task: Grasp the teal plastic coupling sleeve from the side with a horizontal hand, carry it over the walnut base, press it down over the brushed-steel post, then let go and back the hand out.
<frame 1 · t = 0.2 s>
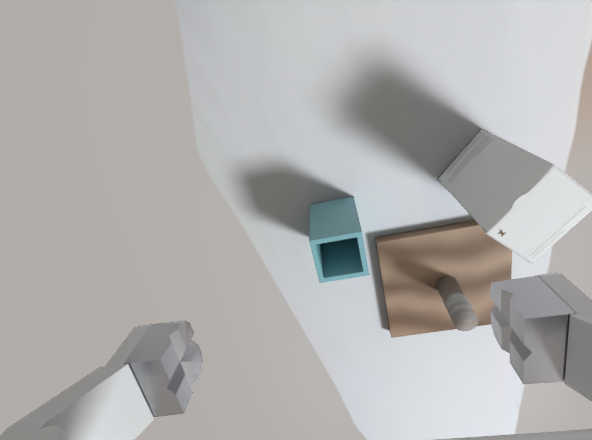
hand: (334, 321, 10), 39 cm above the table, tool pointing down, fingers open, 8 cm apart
skincare box: (475, 164, 48), on the table
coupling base: (443, 278, 56), on the table
coupling sleeve: (335, 219, 52), on the table
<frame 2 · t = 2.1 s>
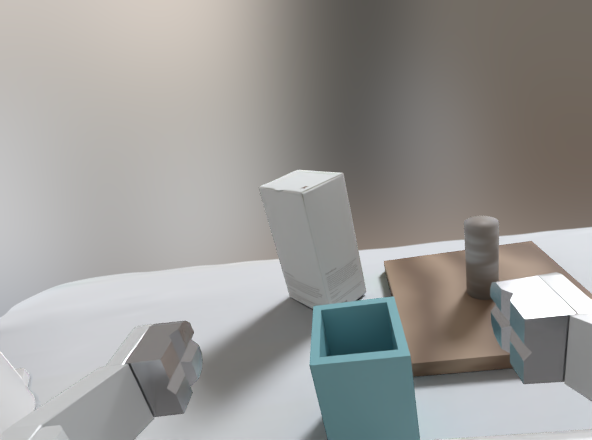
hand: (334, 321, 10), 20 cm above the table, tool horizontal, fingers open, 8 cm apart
skincare box: (325, 297, 47), on the table
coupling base: (482, 303, 39), on the table
coupling sleeve: (374, 431, 29), on the table
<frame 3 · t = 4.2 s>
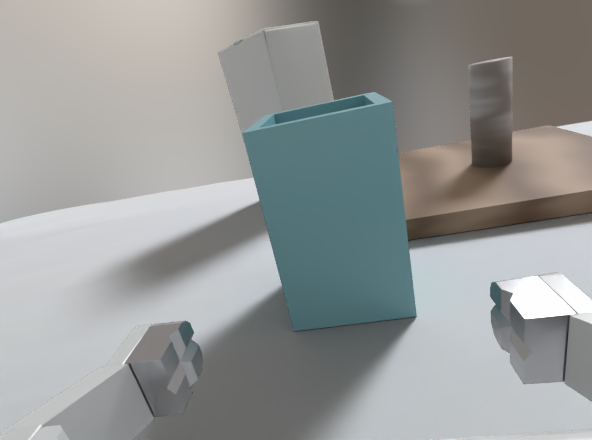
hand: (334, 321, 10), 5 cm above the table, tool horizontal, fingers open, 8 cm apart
skincare box: (302, 197, 39), on the table
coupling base: (491, 179, 32), on the table
coupling sleeve: (350, 290, 21), on the table
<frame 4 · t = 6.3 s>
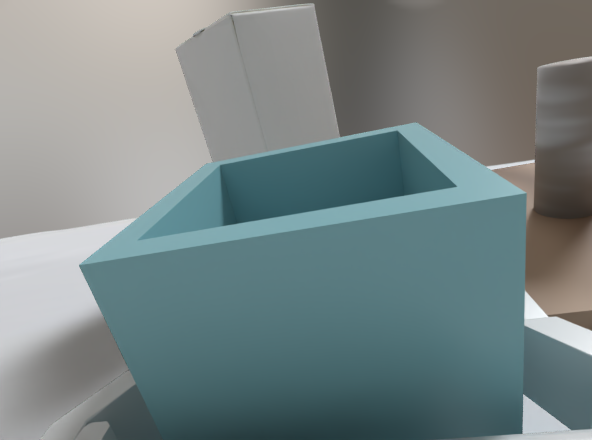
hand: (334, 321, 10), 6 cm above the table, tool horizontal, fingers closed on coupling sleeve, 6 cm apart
skincare box: (293, 241, 29), on the table
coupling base: (562, 231, 22), on the table
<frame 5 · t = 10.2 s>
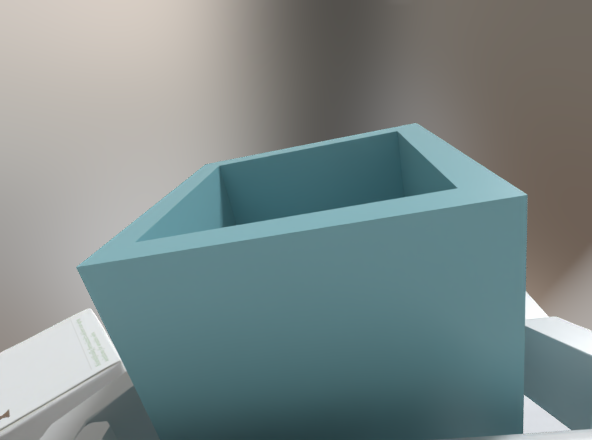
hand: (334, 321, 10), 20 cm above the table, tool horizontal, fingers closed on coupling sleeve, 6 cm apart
when the fingers open (8 cm above the table, at t = 13.8 s): coupling sleeve drops 1 cm, resting on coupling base.
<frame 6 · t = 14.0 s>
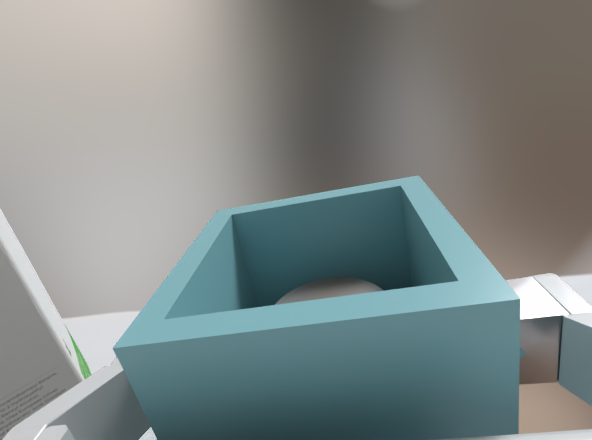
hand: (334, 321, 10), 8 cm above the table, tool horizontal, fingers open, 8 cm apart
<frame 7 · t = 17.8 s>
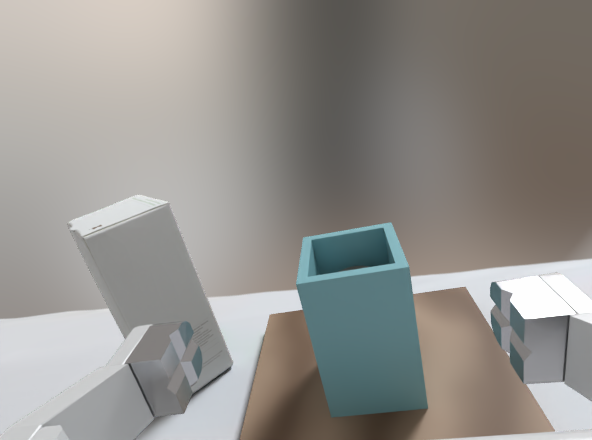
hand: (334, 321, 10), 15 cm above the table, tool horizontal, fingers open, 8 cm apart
skincare box: (183, 369, 34), on the table
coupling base: (377, 391, 26), on the table
coupling sleeve: (373, 376, 26), point 1 cm above the table, touching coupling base
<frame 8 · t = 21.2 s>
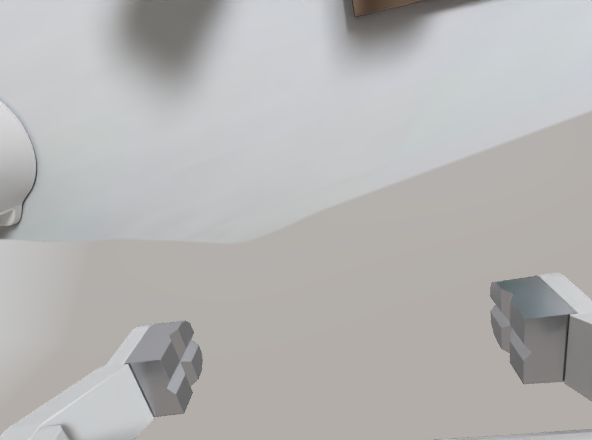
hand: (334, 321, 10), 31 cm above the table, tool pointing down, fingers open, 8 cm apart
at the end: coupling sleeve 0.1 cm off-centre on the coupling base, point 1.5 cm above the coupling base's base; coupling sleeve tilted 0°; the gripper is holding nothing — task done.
